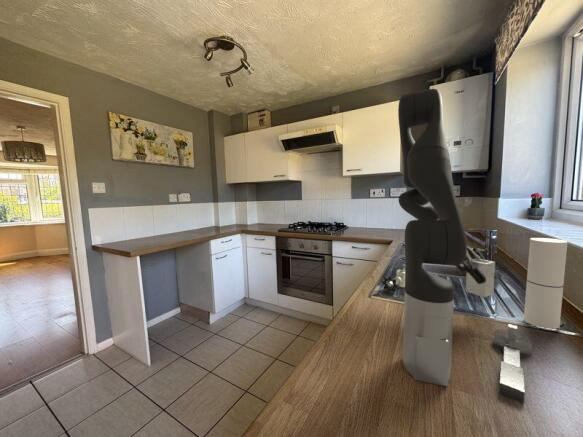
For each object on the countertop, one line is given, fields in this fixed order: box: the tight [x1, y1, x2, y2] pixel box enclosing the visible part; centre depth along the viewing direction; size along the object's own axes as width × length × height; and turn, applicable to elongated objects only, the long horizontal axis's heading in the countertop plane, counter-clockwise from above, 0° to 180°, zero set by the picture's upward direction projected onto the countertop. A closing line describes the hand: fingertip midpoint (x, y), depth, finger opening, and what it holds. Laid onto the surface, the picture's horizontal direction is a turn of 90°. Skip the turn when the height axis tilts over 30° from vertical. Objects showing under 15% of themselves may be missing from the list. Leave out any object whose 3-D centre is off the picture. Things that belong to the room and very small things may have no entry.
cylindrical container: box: [523, 237, 568, 329], centre depth 68 cm, size 7×7×25 cm
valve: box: [381, 269, 405, 293], centre depth 97 cm, size 7×7×12 cm
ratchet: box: [492, 323, 533, 404], centre depth 53 cm, size 24×7×6 cm, turn 137°
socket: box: [465, 258, 496, 298], centre depth 69 cm, size 5×5×10 cm
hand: (487, 280), depth 67 cm, fingers closed on socket, 4 cm apart
